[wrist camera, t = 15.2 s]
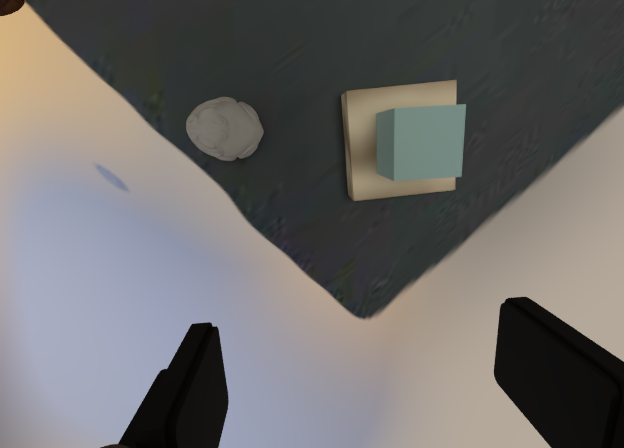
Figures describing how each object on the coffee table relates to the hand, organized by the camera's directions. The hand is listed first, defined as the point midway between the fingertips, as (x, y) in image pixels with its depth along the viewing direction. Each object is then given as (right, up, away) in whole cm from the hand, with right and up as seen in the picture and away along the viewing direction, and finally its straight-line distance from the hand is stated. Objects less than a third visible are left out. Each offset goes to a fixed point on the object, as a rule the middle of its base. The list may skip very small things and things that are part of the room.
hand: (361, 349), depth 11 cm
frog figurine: (-10, +14, +25) cm, 31 cm away
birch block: (+7, +13, +27) cm, 31 cm away
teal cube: (+8, +12, +23) cm, 27 cm away
